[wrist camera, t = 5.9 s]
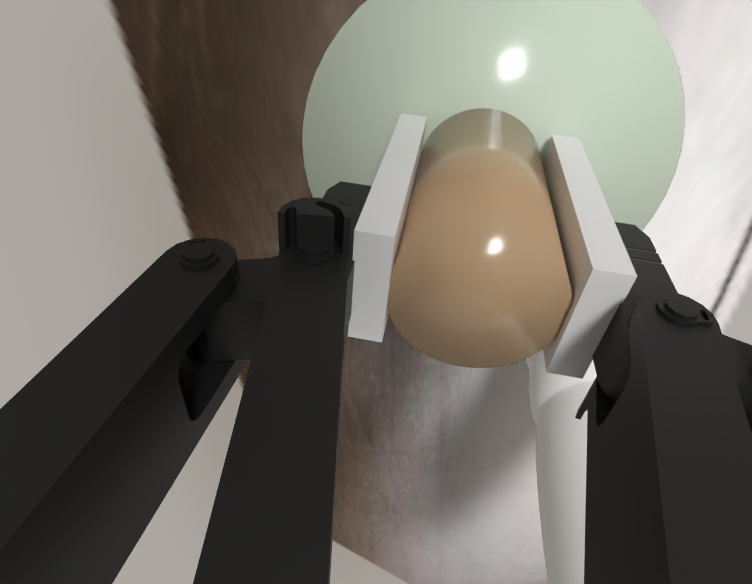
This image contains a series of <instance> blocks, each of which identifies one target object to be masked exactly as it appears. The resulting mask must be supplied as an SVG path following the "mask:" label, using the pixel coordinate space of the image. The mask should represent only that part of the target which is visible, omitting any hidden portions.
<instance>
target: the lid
mask: <svg viewBox="0 0 752 584" xmlns="http://www.w3.org/2000/svg"><path fill="white" fill-rule="evenodd" d="M401 113H402V114H410V115H417V116H424V117H427V120H426V127H425V134H424V141H423V148H422V153H421V157H420V161H419V165H418V169H417V173H416V177H415V181H414V185H413V189H412V193H411V197H410V201H409V205H408V209H407V213H406V217H405V221H404V225H403V229H402V233H401V237H400V241H399V245H398V249H397V253H396V257H395V261H394V265H393V269H392V273H391V279H390V287H389V295H388V303H387V308H388V311H389V315H390V317H391V319H392V322H393V324H394V325H395V327H396V328H397V330H398V331H399V333H400V334H401V335H402V336H403V337H404V339H405V340H406V341H408V342H409V343H410V344H411V345H412V346H413V347H415V348H416V349H418V350H419V351H420V352H422V353H424V354H426V355H428V356H429V357H432V358H434V359H436V360H439V361H442V362H445V363H448V364H452V365H457V366H462V367H471V368H490V367H498V366H504V365H508V364H513V363H516V362H519V361H522V360H524V359H526V358H528V357H531V356H533V355H534V354H536V353H538V352H540V351H541V350H543V349H544V348H545V347H546V346H548V345H549V344H550V343H551V342H552V341H553V340H554V339H555V338H556V337H557V336H558V335H559V332H560V330H561V328H562V326H563V323H564V321H565V319H566V317H567V315H568V312H569V310H570V308H571V305H572V291H571V286H570V281H569V277H568V273H567V268H566V264H565V260H564V255H563V251H562V247H561V242H560V238H559V234H558V229H557V225H556V221H555V216H554V212H553V208H552V203H551V199H550V195H549V190H548V186H547V182H546V177H545V173H544V169H543V161H544V158H545V154H546V151H547V148H548V145H549V142H550V139H551V136H552V135H559V136H566V137H573V138H579V139H580V141H581V144H582V146H583V148H584V151H585V153H586V156H587V158H588V160H589V163H590V165H591V167H592V170H593V172H594V175H595V177H596V179H597V182H598V184H599V186H600V189H601V191H602V194H603V196H604V198H605V201H606V203H607V205H608V208H609V210H610V213H611V215H612V217H613V220H614V222H619V223H626V224H632V225H636V226H637V227H638V228H639V229H640V230H641V231H642V230H643V229H644V228H645V227H646V225H647V224H648V223H649V221H650V220H651V219H652V217H653V216H654V214H655V213H656V211H657V209H658V207H659V206H660V204H661V202H662V201H663V199H664V197H665V196H666V193H667V191H668V189H669V186H670V184H671V182H672V179H673V177H674V175H675V172H676V168H677V165H678V161H679V157H680V154H681V150H682V145H683V137H684V129H685V96H684V91H683V85H682V80H681V75H680V70H679V67H678V64H677V62H676V59H675V56H674V53H673V51H672V48H671V45H670V43H669V41H668V40H667V38H666V36H665V34H664V33H663V31H662V29H661V27H660V26H659V24H658V22H657V21H656V19H655V18H654V17H653V15H652V14H651V13H650V12H649V11H648V10H647V8H646V7H645V6H644V5H643V4H642V2H641V1H640V0H367V1H366V2H365V3H363V4H362V5H361V6H360V7H359V8H358V9H357V10H356V11H355V13H354V14H353V15H352V16H351V17H350V18H349V19H348V21H347V22H346V23H345V24H344V25H343V26H342V28H341V29H340V30H339V32H338V33H337V35H336V36H335V38H334V39H333V41H332V42H331V44H330V46H329V47H328V49H327V50H326V52H325V54H324V56H323V58H322V60H321V62H320V65H319V67H318V69H317V71H316V73H315V75H314V79H313V82H312V85H311V88H310V91H309V94H308V97H307V103H306V108H305V114H304V120H303V139H302V146H303V157H304V166H305V171H306V176H307V180H308V185H309V188H310V191H311V193H312V196H313V198H323V196H324V195H325V193H326V191H327V189H329V188H330V187H332V186H334V185H335V184H337V183H339V182H340V181H342V182H349V183H355V184H362V185H368V186H372V185H373V182H374V180H375V177H376V175H377V172H378V170H379V167H380V165H381V162H382V160H383V157H384V155H385V152H386V150H387V147H388V145H389V142H390V140H391V137H392V135H393V132H394V130H395V127H396V124H397V122H398V119H399V117H400V114H401Z"/></svg>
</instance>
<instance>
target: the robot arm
mask: <svg viewBox="0 0 752 584" xmlns="http://www.w3.org/2000/svg"><path fill="white" fill-rule="evenodd" d="M426 120H427V117H424V116H417V115H410V114H402V113H401V114H400V117H399V119H398V122H397V124H396V127H395V130H394V132H393V135H392V137H391V140H390V142H389V145H388V147H387V150H386V152H385V155H384V157H383V160H382V162H381V165H380V167H379V170H378V172H377V175H376V177H375V180H374V182H373V185H372V186H368V185H362V184H355V183H349V182H342V181H340V182H339V183H337V184H335V185H334V186H332V187H330V188H329V189H327V191H326V193H325V195H324V196H323V198H302V199H297V200H293V201H291V202H289V203H287V204H285V205H283V206H282V207H281V209H280V210H279V211H278V213H277V214H278V231H279V249H280V251H279V255H278V256H275V257H271V258H264V259H247V260H237V256H236V252H235V249H234V248H233V247H232V246H231V245H230V244H228V243H227V242H224V241H221V240H218V239H210V238H198V239H190V240H187V241H184V242H181V243H178V244H176V245H174V246H173V247H171V248H170V249H169V250H167V251H166V252H165V253H164V254H163V255H162V256H160V257H159V258H158V259H157V260H156V261H155V262H154V263H153V264H152V265H151V266H150V267H149V268H148V269H147V270H146V271H145V272H144V273H143V274H142V275H141V276H139V278H137V279H136V280H135V281H134V282H133V283H132V284H131V285H130V286H129V287H128V288H127V289H126V290H125V291H124V292H123V293H122V294H121V295H120V296H119V297H117V298H116V299H115V300H114V301H113V302H112V303H111V304H110V305H109V306H108V307H107V308H106V309H105V310H104V311H103V312H102V313H101V314H100V315H99V316H98V317H97V318H95V319H94V320H93V321H92V322H91V323H90V324H89V325H88V326H87V327H86V328H85V329H84V330H83V331H82V332H81V333H80V334H79V335H78V336H77V337H76V338H75V339H73V341H71V342H70V343H69V344H68V345H67V346H66V347H65V348H64V349H63V350H62V351H61V352H60V353H59V354H58V355H57V356H56V357H55V358H54V359H52V360H51V362H49V363H48V364H47V365H46V366H45V367H44V368H43V369H42V370H41V371H40V372H39V373H38V374H37V375H36V376H35V377H34V378H33V379H31V381H29V382H28V383H27V384H26V385H25V386H24V387H23V388H22V389H21V390H20V391H19V392H18V393H17V394H16V395H15V396H14V397H13V398H12V399H11V400H9V401H8V402H7V403H6V404H5V405H4V406H3V407H2V408H1V409H0V584H112V583H113V581H114V580H115V578H116V576H117V575H118V573H119V572H120V570H121V568H122V567H123V565H124V563H125V562H126V560H127V558H128V557H129V555H130V553H131V552H132V550H133V548H134V547H135V545H136V544H137V542H138V540H139V539H140V537H141V535H142V534H143V532H144V531H145V529H146V527H147V526H148V524H149V522H150V521H151V519H152V517H153V516H154V514H155V512H156V511H157V509H158V508H159V506H160V504H161V503H162V501H163V499H164V498H165V496H166V494H167V493H168V491H169V489H170V488H171V486H172V485H173V483H174V481H175V479H176V478H177V476H178V475H179V473H180V471H181V470H182V468H183V466H184V465H185V463H186V461H187V460H188V458H189V457H190V455H191V453H192V452H193V450H194V448H195V447H196V445H197V443H198V442H199V440H200V439H201V437H202V435H203V434H204V432H205V430H206V429H207V427H208V425H209V424H210V422H211V420H212V419H213V417H214V415H215V414H216V412H217V411H218V409H219V407H220V406H221V404H222V402H223V401H224V399H225V397H226V396H227V394H228V393H229V391H230V389H231V387H232V386H233V384H234V383H235V381H236V379H237V378H238V376H239V375H240V373H241V371H242V370H243V368H244V366H245V365H246V363H247V360H248V359H251V363H250V367H249V370H248V374H247V378H246V382H245V386H244V390H243V394H242V397H241V401H240V405H239V409H238V413H237V417H236V420H235V424H234V428H233V432H232V436H231V440H230V444H229V447H228V452H227V455H226V459H225V463H224V467H223V470H222V474H221V478H220V482H219V486H218V490H217V494H216V498H215V501H214V505H213V509H212V513H211V517H210V521H209V524H208V528H207V532H206V536H205V540H204V544H203V547H202V551H201V555H200V559H199V563H198V567H197V571H196V574H195V578H194V582H193V584H330V569H331V553H332V537H333V520H334V504H335V487H336V471H337V454H338V438H339V422H340V405H341V389H342V372H343V356H344V338H345V333H346V330H347V327H348V337H354V338H359V339H365V340H370V341H376V342H382V340H383V335H384V331H385V327H386V323H387V318H388V314H389V311H388V308H387V303H388V295H389V287H390V279H391V273H392V269H393V265H394V261H395V257H396V253H397V249H398V245H399V241H400V237H401V233H402V229H403V225H404V221H405V217H406V213H407V209H408V205H409V201H410V197H411V193H412V189H413V185H414V181H415V177H416V173H417V169H418V165H419V161H420V157H421V153H422V148H423V141H424V134H425V127H426ZM543 169H544V173H545V177H546V182H547V186H548V190H549V195H550V199H551V203H552V208H553V212H554V216H555V221H556V225H557V229H558V234H559V238H560V242H561V247H562V251H563V255H564V260H565V264H566V268H567V273H568V277H569V281H570V286H571V291H572V305H571V308H570V310H569V312H568V315H567V317H566V319H565V321H564V323H563V326H562V328H561V330H560V332H559V335H558V336H557V337H556V338H555V339H554V340H553V341H552V342H551V343H550V344H549V345H548V346H546V347H545V348H544V349H543V353H544V360H545V368H546V372H547V373H553V374H558V375H564V376H569V377H575V378H580V379H583V377H584V375H585V373H586V371H587V370H588V368H589V366H590V364H591V362H592V360H593V362H594V366H595V370H596V374H597V377H596V378H595V380H594V382H593V384H592V385H591V387H590V389H589V391H588V393H587V394H586V396H585V398H584V400H583V402H582V403H581V405H580V407H579V409H578V411H577V413H576V416H575V418H576V419H579V420H581V418H582V416H583V414H584V413H585V411H587V410H588V414H587V461H586V508H585V556H584V584H752V345H750V344H747V343H744V342H741V341H739V340H736V339H733V338H730V337H728V336H725V335H723V334H722V333H721V330H720V326H719V324H718V322H717V320H716V318H715V317H714V315H713V314H712V313H711V312H710V311H709V310H707V309H706V308H705V307H704V306H703V305H701V304H700V303H698V302H696V301H694V300H693V299H691V298H689V297H686V296H684V295H681V294H678V293H677V291H676V289H675V287H674V285H673V283H672V281H671V279H670V277H669V275H668V273H667V271H666V269H665V267H664V265H663V264H661V262H662V261H661V259H660V257H659V255H658V253H656V249H655V247H654V245H653V243H652V241H651V240H650V238H649V237H648V236H647V235H646V234H645V233H644V232H642V231H641V230H640V229H639V228H638V227H637V226H636V225H632V224H626V223H619V222H614V220H613V217H612V215H611V213H610V210H609V208H608V205H607V203H606V201H605V198H604V196H603V194H602V191H601V189H600V186H599V184H598V182H597V179H596V177H595V175H594V172H593V170H592V167H591V165H590V163H589V160H588V158H587V156H586V153H585V151H584V148H583V146H582V144H581V141H580V139H579V138H573V137H566V136H559V135H552V136H551V139H550V142H549V145H548V148H547V151H546V154H545V158H544V161H543ZM348 324H349V326H348Z"/></svg>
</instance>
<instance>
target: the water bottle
mask: <svg viewBox="0 0 752 584" xmlns="http://www.w3.org/2000/svg"><path fill="white" fill-rule="evenodd" d="M526 362H527V366H528V369H529V372H530V375H529V400H530V407H531V413H532V417H533V420H534V423H535V426H536V470H537V485H538V498H539V509H540V520H541V530H542V539H543V548H544V556H545V564H546V571H547V578H548V584H584V556H585V508H586V461H587V414H588V410H587V411H585V413H584V414H583V416H582V418H581V420H579V419H576V418H575V416H576V413H577V411H578V409H579V407H580V405H581V403H582V402H583V400H584V398H585V396H586V394H587V393H588V391H589V389H590V387H591V385H592V384H593V382H594V380H595V378H596V377H597V374H596V370H595V366H594V362H593V360H592V362H591V364H590V366H589V368H588V370H587V371H586V373H585V375H584V377H583V379H580V378H575V377H569V376H564V375H558V374H553V373H547V372H546V368H545V360H544V353H543V350H541V351H540V352H538V353H536V354H534V355H533V356H531V357H528V358H526Z"/></svg>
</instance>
